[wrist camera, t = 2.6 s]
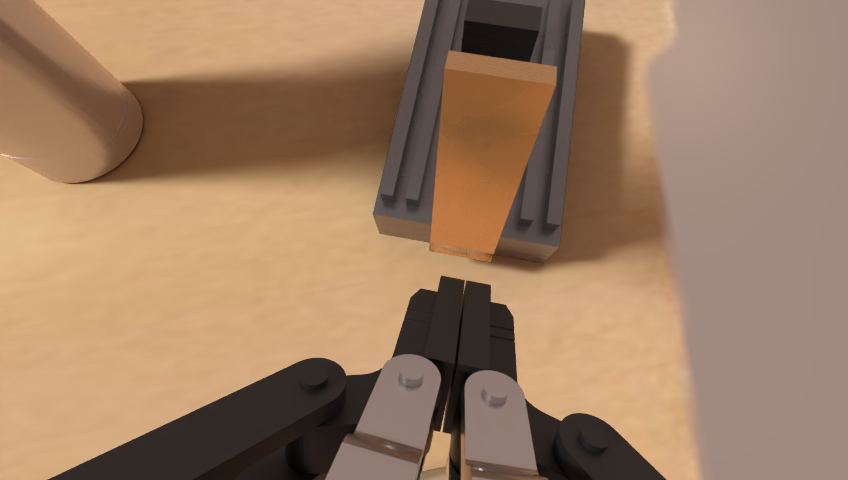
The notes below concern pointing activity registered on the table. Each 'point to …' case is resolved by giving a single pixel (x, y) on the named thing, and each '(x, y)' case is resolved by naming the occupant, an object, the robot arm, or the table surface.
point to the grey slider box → (421, 109)
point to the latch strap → (484, 147)
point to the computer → (434, 474)
